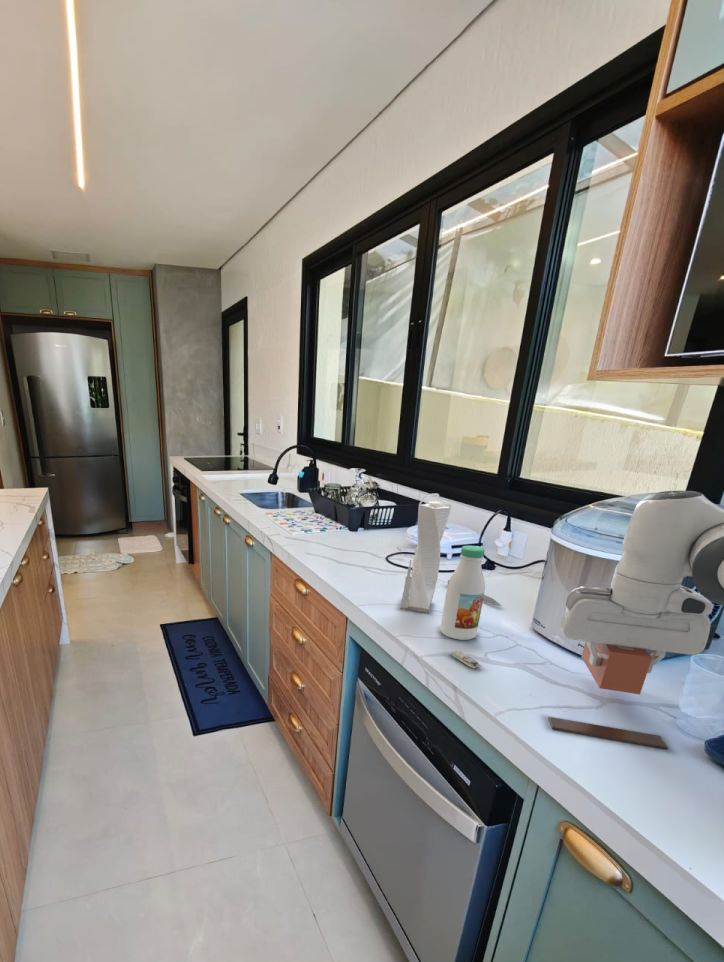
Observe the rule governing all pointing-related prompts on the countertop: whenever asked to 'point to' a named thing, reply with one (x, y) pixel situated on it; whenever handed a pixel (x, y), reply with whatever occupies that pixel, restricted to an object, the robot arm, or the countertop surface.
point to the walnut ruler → (607, 732)
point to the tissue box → (619, 667)
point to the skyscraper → (425, 556)
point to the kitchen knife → (489, 600)
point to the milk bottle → (464, 596)
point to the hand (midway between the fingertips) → (619, 667)
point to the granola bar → (465, 659)
